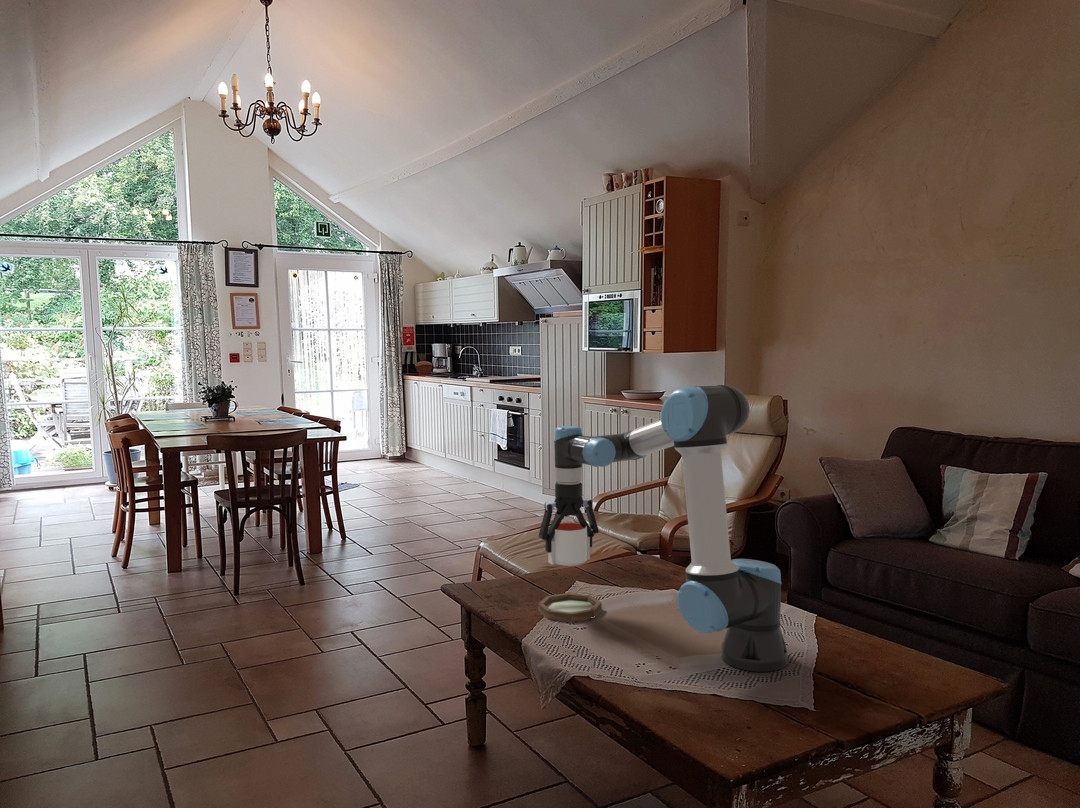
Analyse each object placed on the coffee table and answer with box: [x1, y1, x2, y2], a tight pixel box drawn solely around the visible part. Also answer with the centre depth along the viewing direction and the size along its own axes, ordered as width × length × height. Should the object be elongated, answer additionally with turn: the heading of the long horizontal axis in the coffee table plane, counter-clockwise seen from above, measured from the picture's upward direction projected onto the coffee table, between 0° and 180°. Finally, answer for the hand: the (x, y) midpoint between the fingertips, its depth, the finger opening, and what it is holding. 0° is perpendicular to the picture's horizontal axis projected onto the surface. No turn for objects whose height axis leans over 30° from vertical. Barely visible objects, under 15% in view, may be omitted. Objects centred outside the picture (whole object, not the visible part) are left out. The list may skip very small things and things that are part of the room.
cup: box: [552, 522, 588, 567], centre depth 212 cm, size 10×10×10 cm
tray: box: [537, 592, 603, 623], centre depth 214 cm, size 16×16×2 cm
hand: (569, 561), depth 213 cm, fingers closed on cup, 10 cm apart
